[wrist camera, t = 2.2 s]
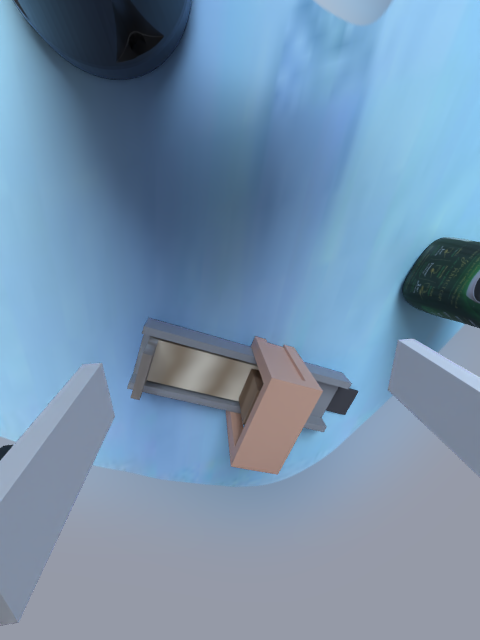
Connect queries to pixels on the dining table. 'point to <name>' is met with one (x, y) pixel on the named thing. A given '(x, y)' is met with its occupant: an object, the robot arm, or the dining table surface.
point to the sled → (199, 373)
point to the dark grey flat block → (342, 400)
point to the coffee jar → (447, 281)
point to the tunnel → (273, 410)
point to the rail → (177, 334)
